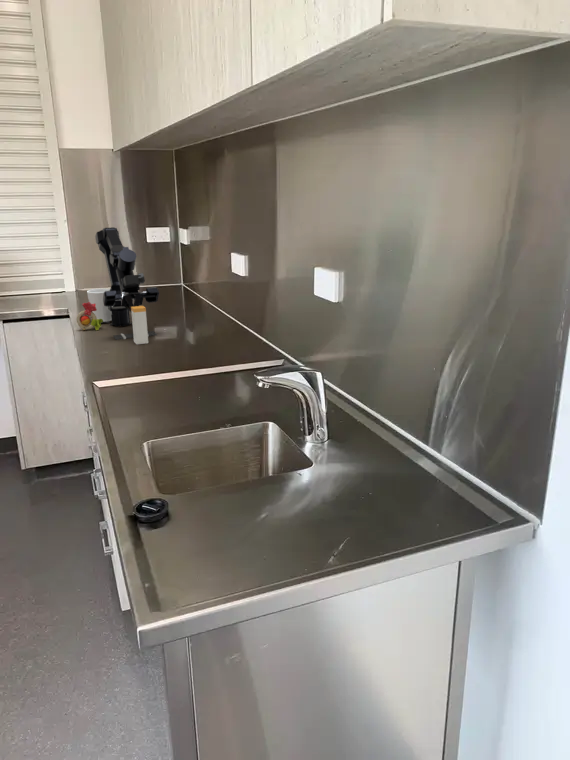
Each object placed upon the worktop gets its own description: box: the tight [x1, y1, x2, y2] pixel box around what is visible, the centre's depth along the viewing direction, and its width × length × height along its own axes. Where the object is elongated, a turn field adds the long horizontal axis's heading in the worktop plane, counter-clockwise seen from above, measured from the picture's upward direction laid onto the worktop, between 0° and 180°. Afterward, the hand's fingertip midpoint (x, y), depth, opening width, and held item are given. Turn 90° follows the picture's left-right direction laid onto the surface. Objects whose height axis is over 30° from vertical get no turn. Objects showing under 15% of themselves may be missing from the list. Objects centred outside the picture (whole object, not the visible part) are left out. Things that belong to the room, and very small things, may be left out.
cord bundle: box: [113, 330, 158, 341], centre depth 212 cm, size 15×5×2 cm, turn 116°
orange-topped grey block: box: [130, 305, 149, 345], centre depth 201 cm, size 4×4×12 cm
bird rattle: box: [76, 301, 104, 331], centre depth 222 cm, size 6×11×9 cm
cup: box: [86, 287, 113, 324], centre depth 234 cm, size 10×10×13 cm
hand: (136, 316), depth 204 cm, fingers closed
